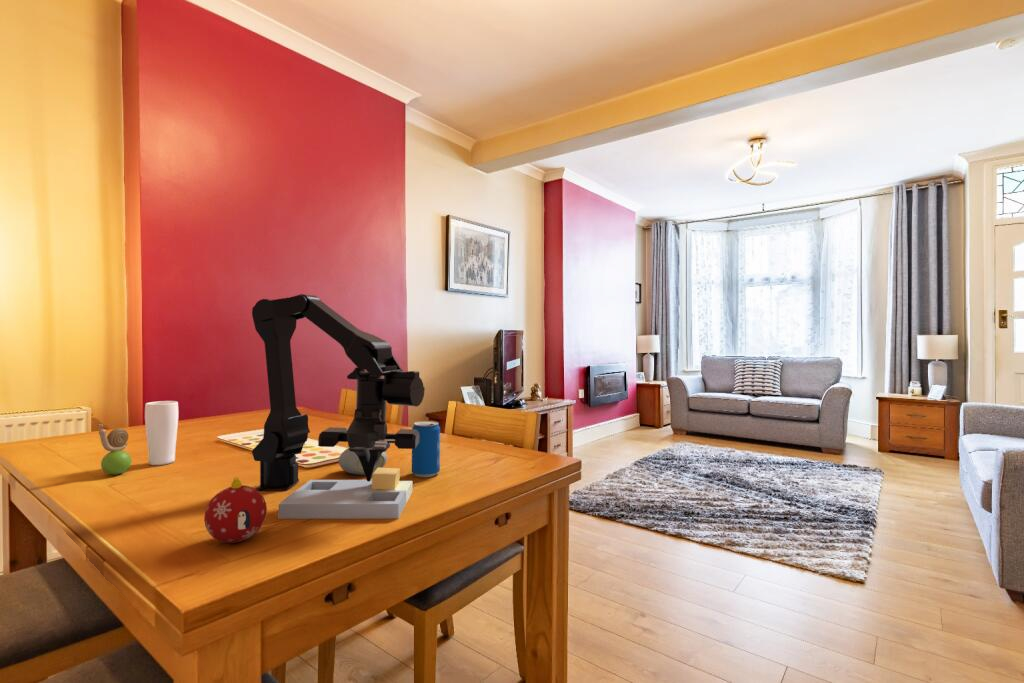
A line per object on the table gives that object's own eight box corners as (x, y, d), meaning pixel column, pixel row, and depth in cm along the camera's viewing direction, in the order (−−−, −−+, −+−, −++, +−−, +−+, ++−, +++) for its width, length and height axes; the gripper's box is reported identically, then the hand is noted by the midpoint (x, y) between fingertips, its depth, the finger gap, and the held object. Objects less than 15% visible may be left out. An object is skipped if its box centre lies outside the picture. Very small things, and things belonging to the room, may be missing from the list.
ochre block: (371, 488, 97) (372, 473, 97) (377, 481, 101) (378, 467, 101) (394, 490, 97) (395, 474, 97) (399, 483, 102) (400, 468, 102)
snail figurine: (90, 477, 110) (89, 423, 110) (119, 470, 116) (118, 419, 116) (109, 479, 109) (108, 425, 108) (137, 471, 115) (137, 420, 115)
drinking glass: (151, 460, 125) (151, 401, 125) (182, 458, 127) (182, 400, 127) (140, 467, 118) (139, 405, 118) (173, 465, 120) (173, 404, 120)
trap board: (278, 518, 88) (278, 503, 88) (310, 491, 103) (310, 478, 103) (398, 518, 88) (398, 503, 88) (412, 491, 103) (412, 478, 103)
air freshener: (346, 480, 111) (347, 435, 110) (333, 471, 117) (333, 429, 117) (392, 472, 118) (392, 429, 117) (377, 464, 124) (377, 424, 124)
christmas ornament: (260, 525, 84) (260, 467, 84) (271, 543, 78) (272, 479, 77) (201, 538, 79) (201, 475, 79) (207, 557, 72) (207, 489, 72)
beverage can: (433, 479, 112) (434, 426, 112) (407, 477, 113) (407, 424, 113) (443, 471, 118) (444, 421, 118) (418, 469, 120) (418, 419, 119)
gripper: (308, 407, 90) (306, 492, 91) (411, 410, 91) (409, 495, 91) (329, 399, 101) (327, 475, 102) (420, 402, 102) (418, 477, 102)
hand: (369, 480), depth 99 cm, fingers closed
